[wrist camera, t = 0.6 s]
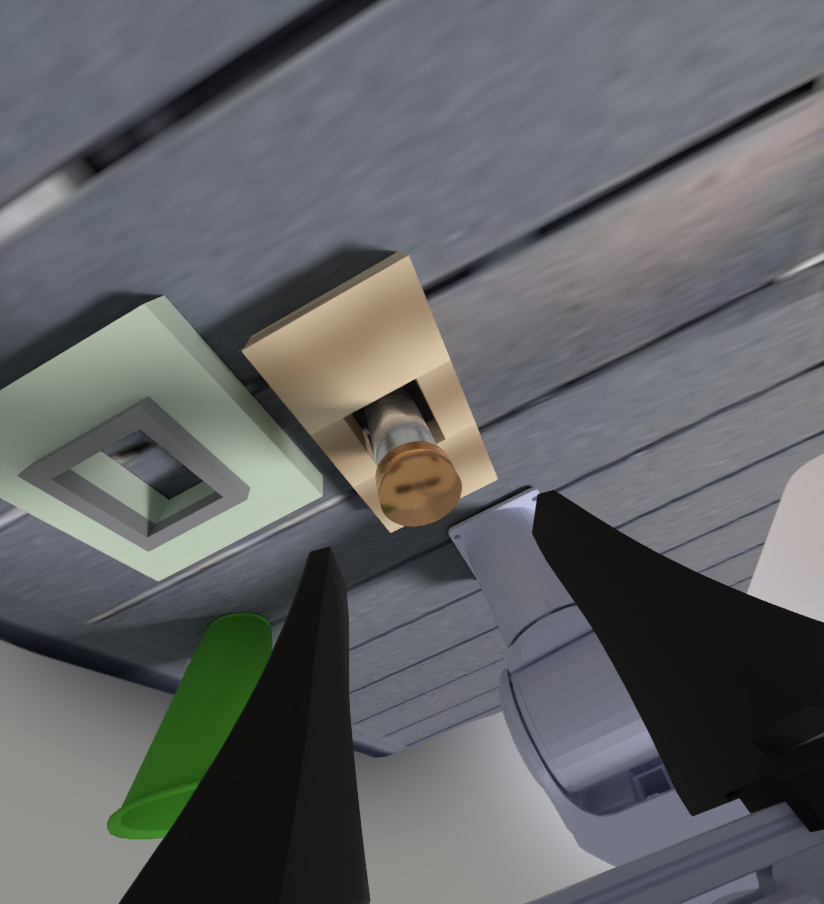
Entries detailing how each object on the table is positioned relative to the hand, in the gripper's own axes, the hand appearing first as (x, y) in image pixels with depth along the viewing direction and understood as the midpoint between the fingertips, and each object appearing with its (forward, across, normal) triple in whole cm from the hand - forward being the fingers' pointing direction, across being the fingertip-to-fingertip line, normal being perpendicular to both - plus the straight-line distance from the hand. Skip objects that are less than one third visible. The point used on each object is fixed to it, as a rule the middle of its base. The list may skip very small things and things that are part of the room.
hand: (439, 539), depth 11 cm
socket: (+10, +13, 0) cm, 16 cm away
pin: (+10, 0, 0) cm, 10 cm away
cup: (+11, +16, +18) cm, 26 cm away
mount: (+10, 0, 0) cm, 10 cm away
